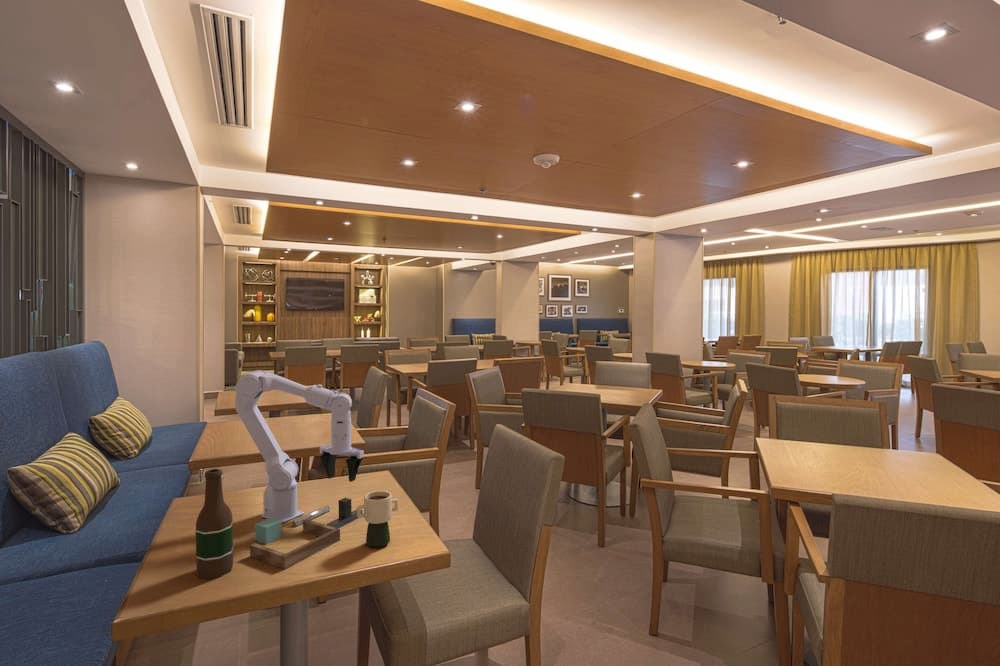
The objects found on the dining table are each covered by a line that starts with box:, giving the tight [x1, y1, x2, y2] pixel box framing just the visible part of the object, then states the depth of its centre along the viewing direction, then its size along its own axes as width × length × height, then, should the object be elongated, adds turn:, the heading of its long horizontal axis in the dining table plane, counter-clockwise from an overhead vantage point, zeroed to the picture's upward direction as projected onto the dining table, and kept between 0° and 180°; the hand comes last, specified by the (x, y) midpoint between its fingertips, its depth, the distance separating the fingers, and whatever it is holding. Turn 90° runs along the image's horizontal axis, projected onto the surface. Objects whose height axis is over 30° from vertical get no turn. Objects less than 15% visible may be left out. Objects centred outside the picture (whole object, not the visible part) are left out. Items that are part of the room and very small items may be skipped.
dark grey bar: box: [326, 497, 363, 529], centre depth 147 cm, size 2×12×7 cm, turn 152°
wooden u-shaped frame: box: [249, 519, 341, 570], centre depth 132 cm, size 13×17×3 cm
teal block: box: [254, 518, 282, 545], centre depth 137 cm, size 4×4×4 cm
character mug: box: [356, 490, 399, 548], centre depth 134 cm, size 11×7×13 cm, turn 119°
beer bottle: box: [195, 468, 234, 580], centre depth 119 cm, size 8×8×24 cm
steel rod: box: [292, 504, 331, 527], centre depth 150 cm, size 12×2×2 cm, turn 152°
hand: (341, 479), depth 153 cm, fingers open, 7 cm apart
